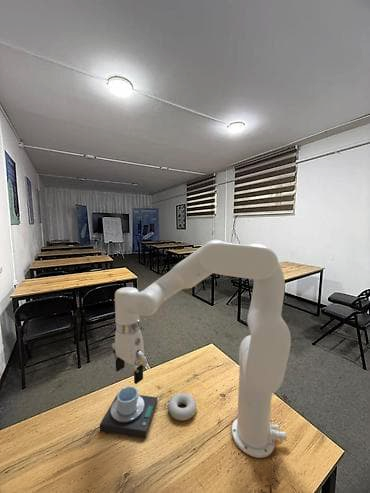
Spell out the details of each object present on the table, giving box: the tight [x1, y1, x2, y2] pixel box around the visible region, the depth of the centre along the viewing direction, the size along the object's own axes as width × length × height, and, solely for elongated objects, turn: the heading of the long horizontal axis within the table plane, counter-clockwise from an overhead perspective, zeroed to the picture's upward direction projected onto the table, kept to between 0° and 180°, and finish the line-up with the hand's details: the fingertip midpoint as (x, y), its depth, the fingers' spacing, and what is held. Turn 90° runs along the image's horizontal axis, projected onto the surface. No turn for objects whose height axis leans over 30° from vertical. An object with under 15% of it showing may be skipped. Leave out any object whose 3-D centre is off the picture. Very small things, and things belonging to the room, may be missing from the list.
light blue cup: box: [116, 385, 139, 415], centre depth 71 cm, size 7×7×4 cm
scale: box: [99, 394, 158, 439], centre depth 71 cm, size 15×13×3 cm
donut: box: [167, 392, 197, 422], centre depth 74 cm, size 10×4×10 cm
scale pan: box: [111, 394, 144, 423], centre depth 71 cm, size 11×11×1 cm
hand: (129, 375), depth 70 cm, fingers open, 9 cm apart
